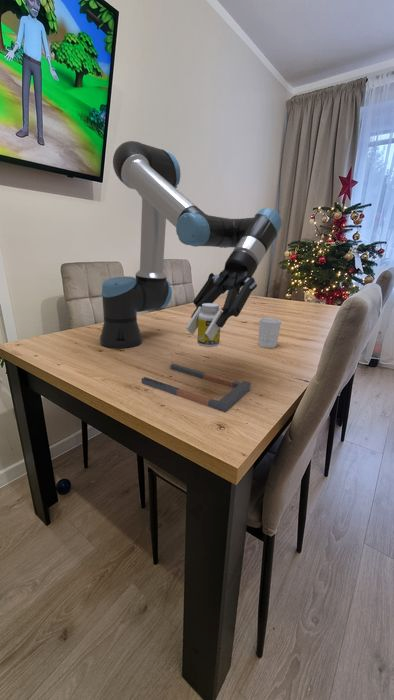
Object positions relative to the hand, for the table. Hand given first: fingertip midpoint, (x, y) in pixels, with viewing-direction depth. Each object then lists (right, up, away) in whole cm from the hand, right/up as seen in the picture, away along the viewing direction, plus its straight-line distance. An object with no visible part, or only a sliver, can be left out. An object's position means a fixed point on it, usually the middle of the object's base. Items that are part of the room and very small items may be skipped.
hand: (198, 333), depth 71 cm
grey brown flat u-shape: (-1, -13, +9) cm, 16 cm away
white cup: (+27, -2, +46) cm, 53 cm away
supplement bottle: (+2, -3, +4) cm, 5 cm away
